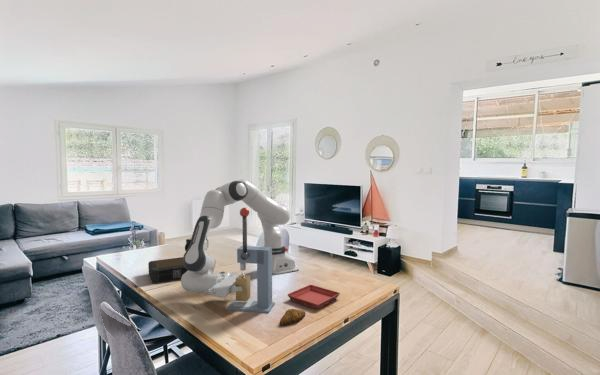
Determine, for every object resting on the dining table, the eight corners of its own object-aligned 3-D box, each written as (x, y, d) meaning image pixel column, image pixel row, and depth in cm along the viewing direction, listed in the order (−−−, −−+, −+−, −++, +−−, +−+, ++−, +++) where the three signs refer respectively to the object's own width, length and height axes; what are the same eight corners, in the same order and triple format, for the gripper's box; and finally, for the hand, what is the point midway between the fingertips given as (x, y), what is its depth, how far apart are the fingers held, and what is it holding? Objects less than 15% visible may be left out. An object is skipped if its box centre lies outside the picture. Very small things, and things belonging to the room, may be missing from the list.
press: (226, 309, 144) (225, 250, 142) (234, 300, 153) (234, 245, 152) (268, 313, 140) (268, 252, 139) (274, 303, 150) (274, 246, 148)
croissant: (298, 313, 141) (298, 301, 141) (310, 318, 136) (310, 306, 136) (274, 323, 131) (274, 311, 131) (286, 329, 127) (286, 316, 126)
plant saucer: (310, 290, 167) (310, 283, 167) (340, 299, 156) (340, 292, 156) (286, 301, 153) (286, 294, 153) (318, 312, 142) (318, 304, 142)
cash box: (152, 285, 174) (151, 270, 174) (148, 274, 192) (148, 261, 191) (200, 277, 186) (200, 263, 186) (192, 267, 204) (192, 255, 204)
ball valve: (197, 266, 206) (196, 238, 205) (184, 265, 208) (184, 237, 206) (210, 258, 223) (210, 232, 222) (198, 257, 225) (198, 232, 224)
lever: (238, 260, 139) (238, 208, 138) (242, 257, 143) (241, 207, 142) (247, 260, 139) (247, 208, 137) (251, 258, 143) (250, 207, 141)
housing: (235, 300, 146) (235, 275, 146) (239, 296, 151) (239, 271, 151) (246, 301, 145) (246, 275, 145) (250, 297, 150) (250, 272, 150)
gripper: (205, 285, 140) (236, 287, 137) (224, 270, 160) (252, 271, 158) (205, 299, 140) (236, 302, 138) (224, 283, 160) (252, 284, 158)
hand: (245, 285), depth 148 cm, fingers closed on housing, 5 cm apart
